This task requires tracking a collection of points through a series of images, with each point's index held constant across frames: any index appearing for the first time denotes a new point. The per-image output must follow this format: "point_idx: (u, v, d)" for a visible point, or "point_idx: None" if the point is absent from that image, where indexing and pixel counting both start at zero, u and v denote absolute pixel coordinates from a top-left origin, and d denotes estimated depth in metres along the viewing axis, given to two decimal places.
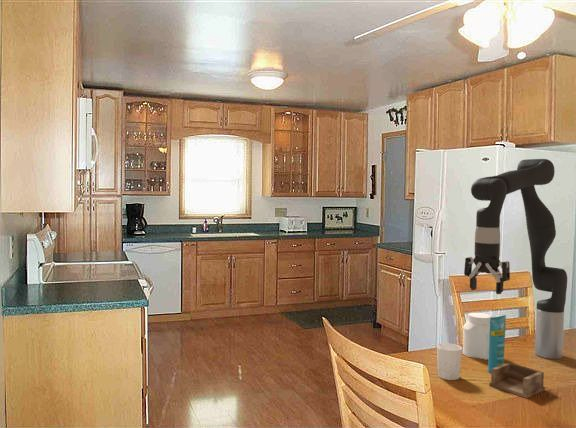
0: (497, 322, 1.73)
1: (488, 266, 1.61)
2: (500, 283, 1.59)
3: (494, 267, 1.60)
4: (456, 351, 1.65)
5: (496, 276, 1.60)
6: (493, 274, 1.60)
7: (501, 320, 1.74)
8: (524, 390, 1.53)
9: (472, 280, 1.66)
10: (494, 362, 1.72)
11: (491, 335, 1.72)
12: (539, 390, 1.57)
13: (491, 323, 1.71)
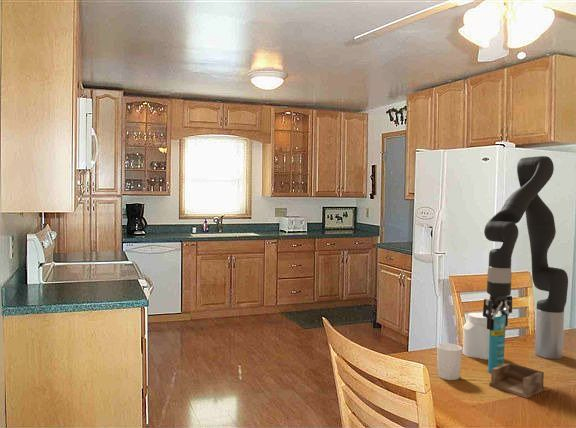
0: (497, 322, 1.73)
1: (506, 303, 1.72)
2: None
3: None
4: (456, 351, 1.65)
5: (507, 310, 1.75)
6: (507, 309, 1.74)
7: (501, 320, 1.74)
8: (524, 390, 1.53)
9: (493, 320, 1.70)
10: (494, 362, 1.72)
11: (491, 335, 1.72)
12: (539, 390, 1.57)
13: None
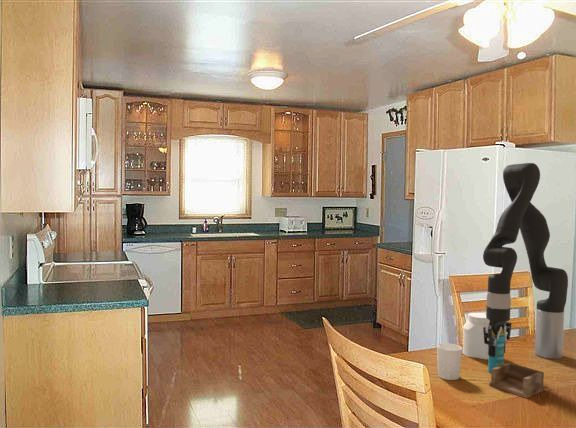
0: None
1: (505, 328, 1.73)
2: (505, 343, 1.75)
3: None
4: (456, 351, 1.65)
5: (505, 337, 1.74)
6: (506, 335, 1.74)
7: None
8: (524, 390, 1.53)
9: (495, 347, 1.71)
10: (494, 362, 1.72)
11: None
12: (539, 390, 1.57)
13: None
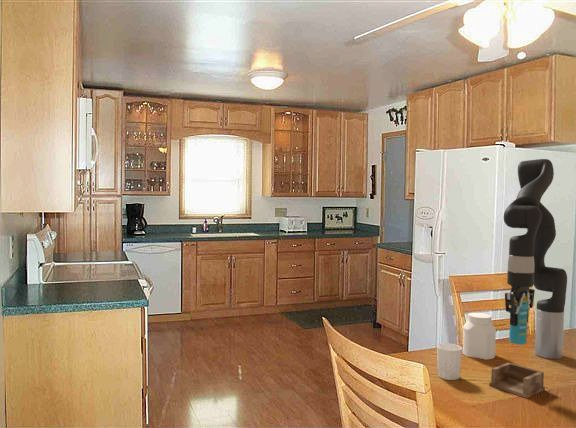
0: None
1: (528, 295, 1.58)
2: (527, 311, 1.61)
3: None
4: (456, 351, 1.65)
5: (528, 305, 1.60)
6: (529, 303, 1.59)
7: None
8: (524, 390, 1.53)
9: (517, 315, 1.56)
10: (516, 331, 1.57)
11: None
12: (539, 390, 1.57)
13: None
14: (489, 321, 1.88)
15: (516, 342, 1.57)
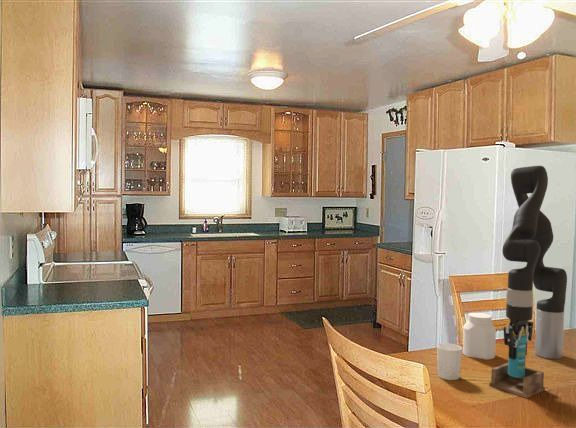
0: None
1: (527, 328, 1.59)
2: (526, 344, 1.61)
3: None
4: (456, 351, 1.65)
5: (527, 337, 1.60)
6: (527, 336, 1.60)
7: None
8: (524, 390, 1.53)
9: (516, 349, 1.57)
10: (515, 365, 1.58)
11: None
12: (539, 390, 1.57)
13: None
14: (489, 321, 1.88)
15: (515, 375, 1.58)
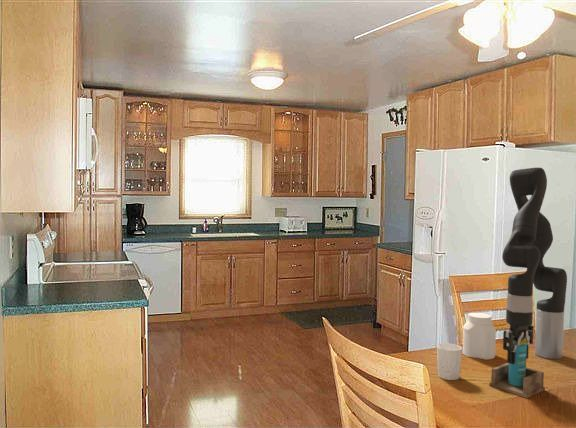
0: None
1: (527, 333, 1.59)
2: (527, 347, 1.62)
3: None
4: (456, 351, 1.65)
5: (528, 341, 1.61)
6: (528, 340, 1.60)
7: None
8: (524, 390, 1.53)
9: (514, 354, 1.56)
10: (515, 374, 1.58)
11: None
12: (539, 390, 1.57)
13: None
14: (489, 321, 1.88)
15: (515, 384, 1.58)
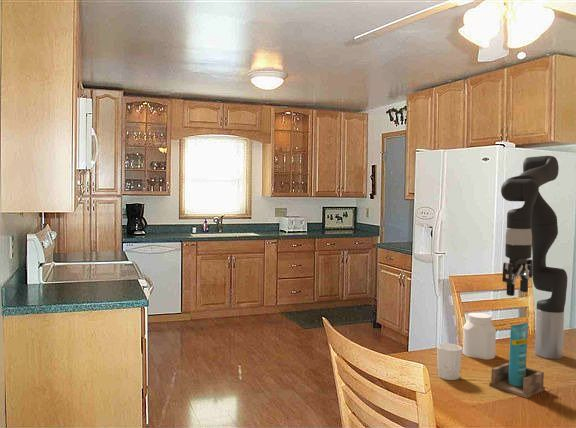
0: (518, 330, 1.59)
1: (526, 267, 1.61)
2: None
3: None
4: (456, 351, 1.65)
5: (527, 275, 1.63)
6: (528, 273, 1.62)
7: (523, 328, 1.60)
8: (524, 390, 1.53)
9: (514, 285, 1.58)
10: (515, 374, 1.58)
11: (512, 344, 1.58)
12: (539, 390, 1.57)
13: (512, 331, 1.58)
14: (489, 321, 1.88)
15: (515, 384, 1.58)
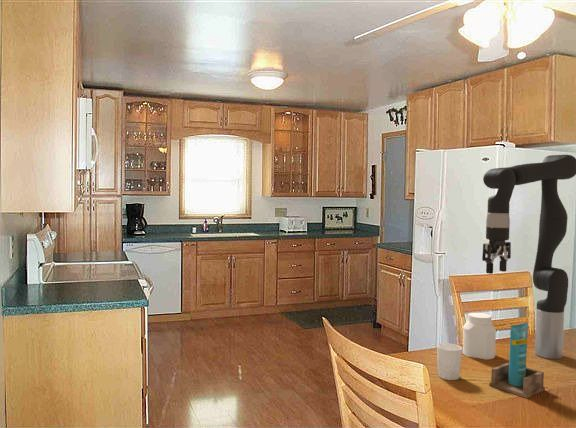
0: (518, 330, 1.59)
1: (504, 248, 1.78)
2: None
3: None
4: (456, 351, 1.65)
5: (506, 255, 1.80)
6: (506, 254, 1.79)
7: (523, 328, 1.60)
8: (524, 390, 1.53)
9: (492, 264, 1.75)
10: (515, 374, 1.58)
11: (512, 344, 1.58)
12: (539, 390, 1.57)
13: (512, 331, 1.58)
14: (489, 321, 1.88)
15: (515, 384, 1.58)
